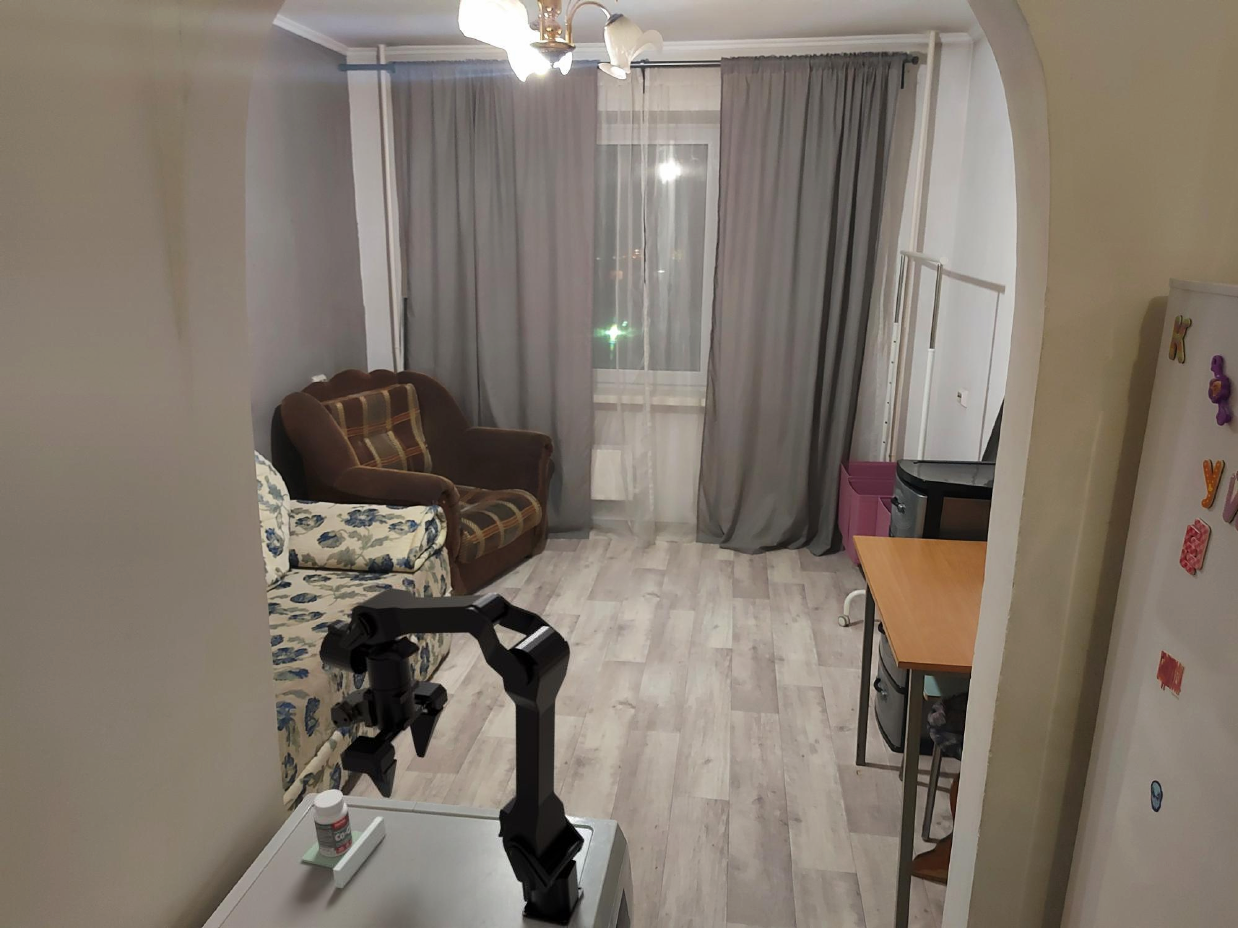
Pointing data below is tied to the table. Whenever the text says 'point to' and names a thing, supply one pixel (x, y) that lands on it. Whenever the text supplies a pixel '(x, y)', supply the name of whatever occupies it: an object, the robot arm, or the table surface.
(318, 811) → the pill bottle
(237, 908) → the table surface
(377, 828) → the acrylic wall
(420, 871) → the table surface
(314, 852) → the coaster
